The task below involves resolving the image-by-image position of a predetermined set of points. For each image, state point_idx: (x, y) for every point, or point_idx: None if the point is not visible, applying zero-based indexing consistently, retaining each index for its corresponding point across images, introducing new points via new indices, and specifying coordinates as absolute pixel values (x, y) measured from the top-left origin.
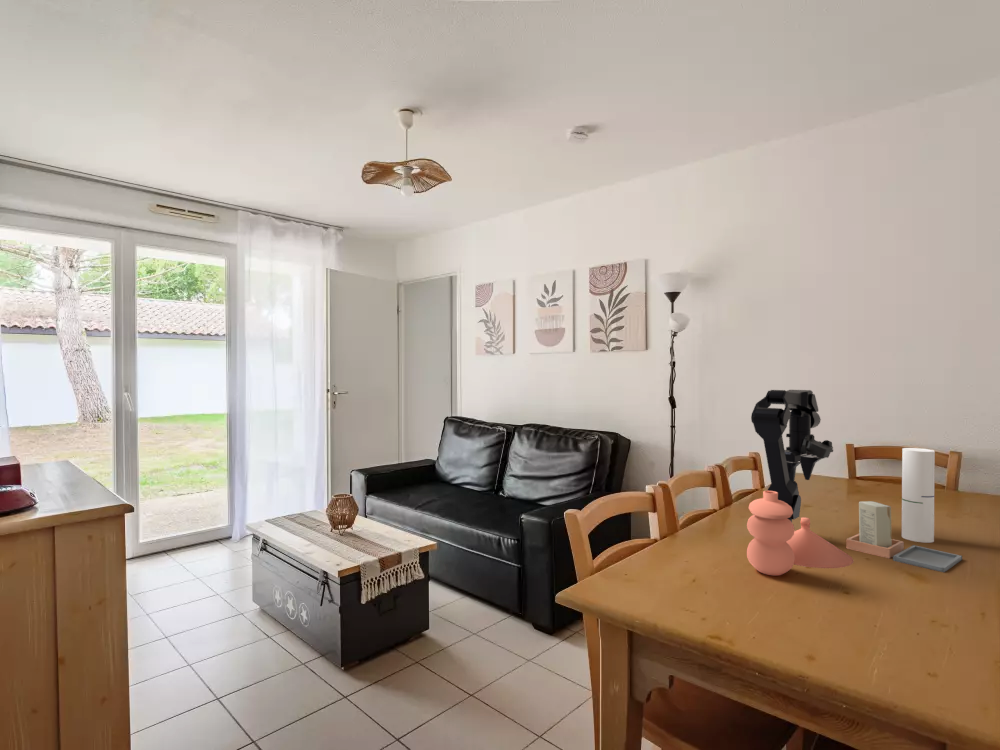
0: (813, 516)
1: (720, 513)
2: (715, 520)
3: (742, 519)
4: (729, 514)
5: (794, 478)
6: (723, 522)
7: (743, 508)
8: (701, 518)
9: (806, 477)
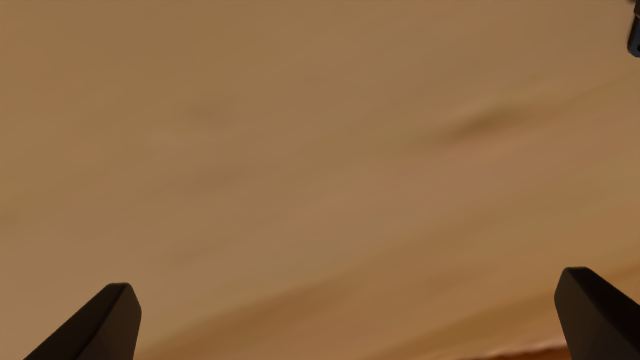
0: (68, 111)
1: (474, 342)
2: None
3: (501, 259)
4: (458, 321)
5: (623, 324)
6: (630, 271)
7: (299, 341)
8: None
9: (127, 329)
